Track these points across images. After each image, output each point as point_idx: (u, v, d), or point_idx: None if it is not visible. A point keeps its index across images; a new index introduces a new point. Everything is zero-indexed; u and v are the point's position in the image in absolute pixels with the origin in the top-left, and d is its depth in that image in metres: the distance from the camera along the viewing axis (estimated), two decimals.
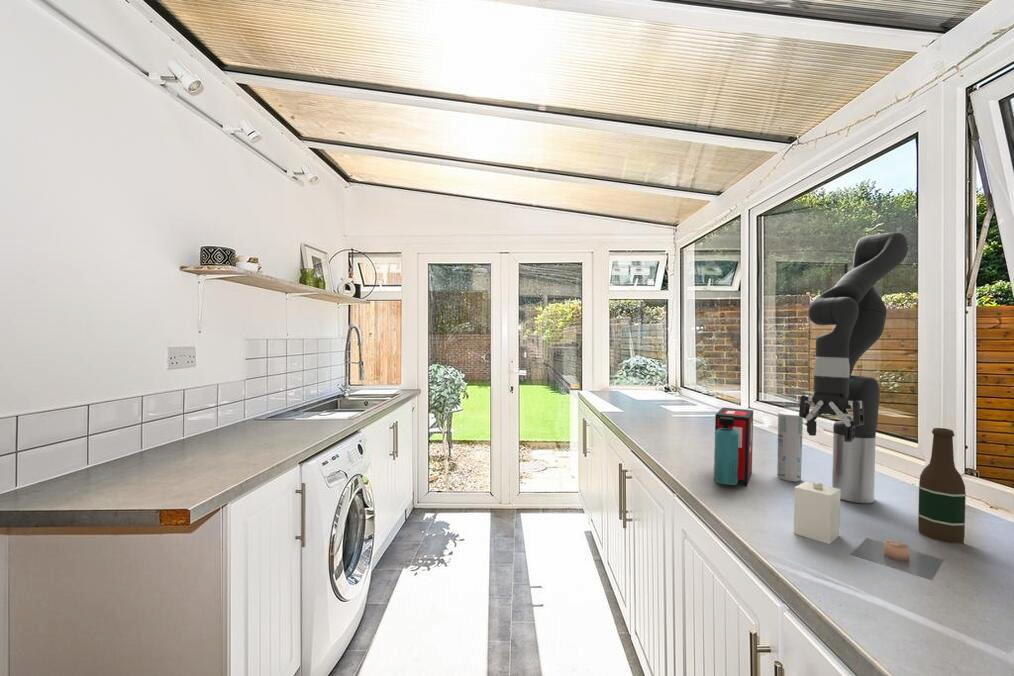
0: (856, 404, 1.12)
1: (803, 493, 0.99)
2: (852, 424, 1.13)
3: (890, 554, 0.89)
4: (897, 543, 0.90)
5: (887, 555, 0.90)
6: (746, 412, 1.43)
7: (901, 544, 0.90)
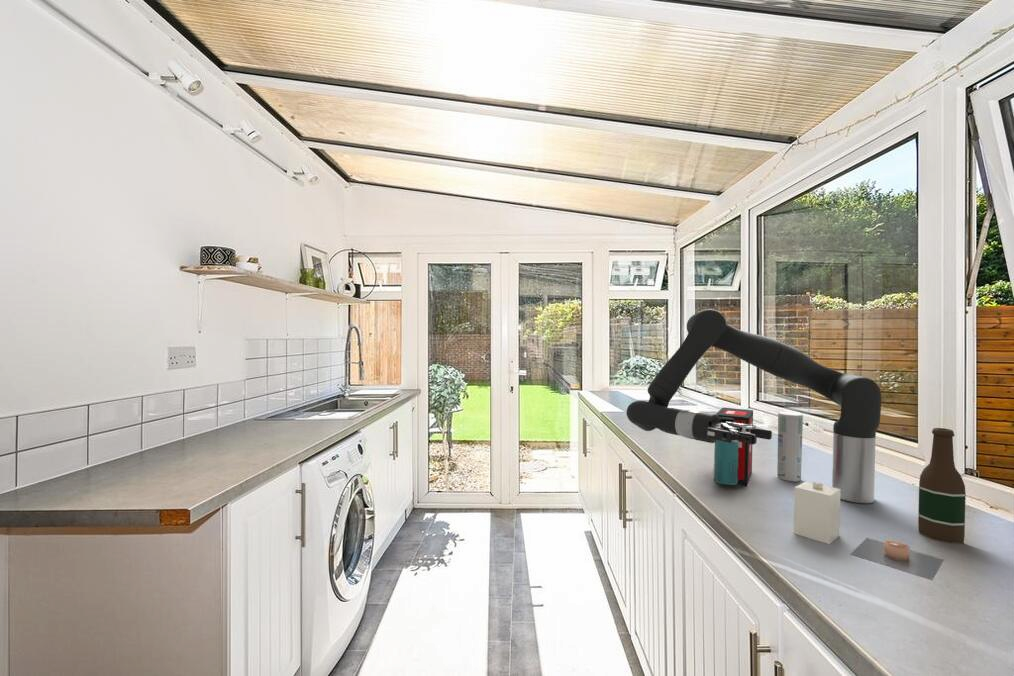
0: None
1: (803, 493, 0.99)
2: (733, 439, 1.08)
3: (890, 554, 0.89)
4: (897, 543, 0.90)
5: (887, 555, 0.90)
6: (746, 412, 1.43)
7: (901, 544, 0.90)
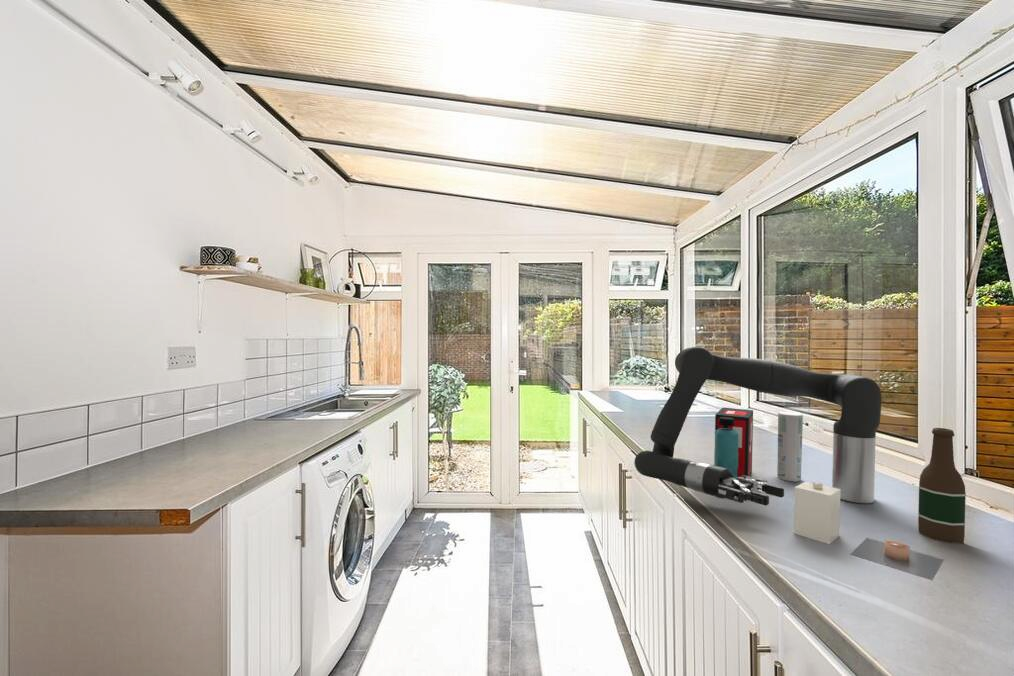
0: None
1: (803, 493, 0.99)
2: None
3: (890, 554, 0.89)
4: (898, 543, 0.90)
5: (887, 555, 0.90)
6: (746, 412, 1.43)
7: (901, 544, 0.90)
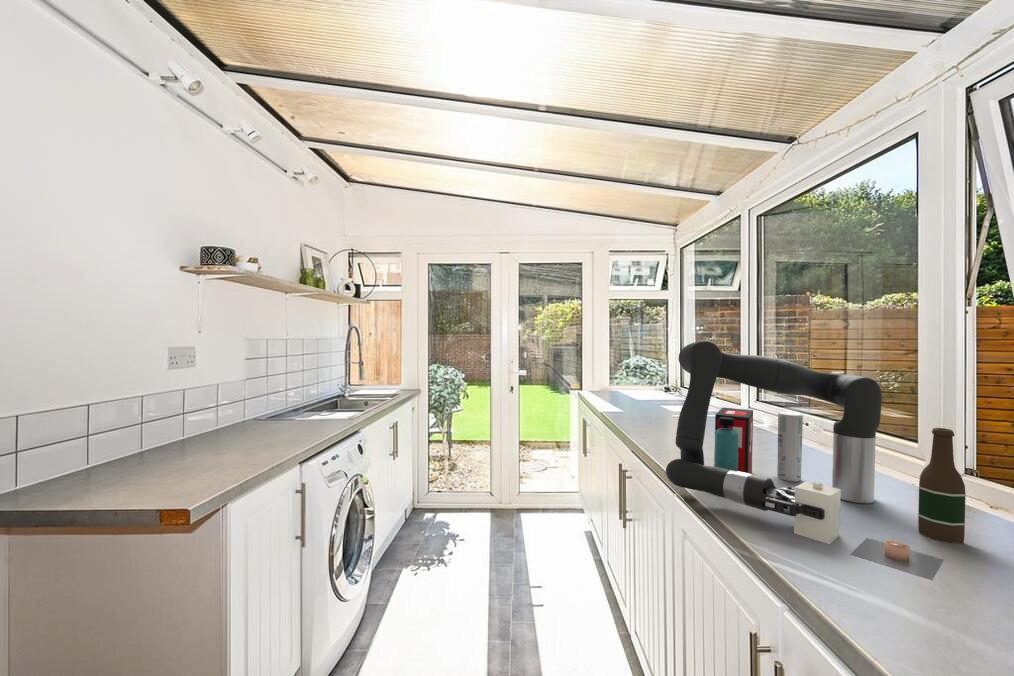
0: (769, 509, 1.01)
1: (803, 493, 0.99)
2: None
3: (890, 554, 0.89)
4: (898, 543, 0.90)
5: (887, 555, 0.90)
6: (746, 412, 1.43)
7: (901, 544, 0.90)
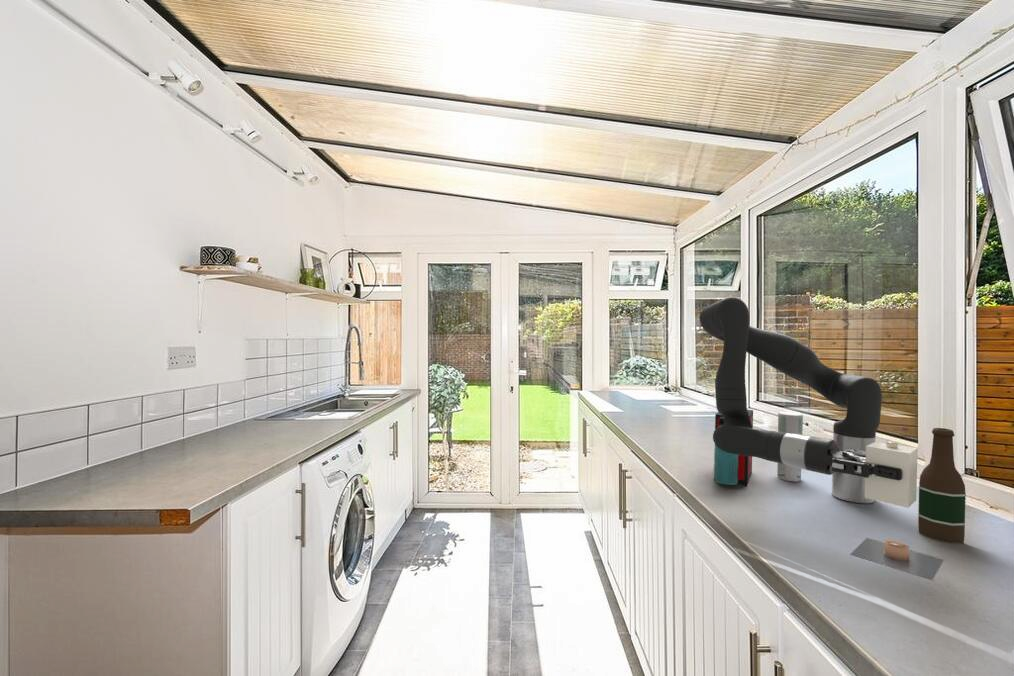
0: None
1: (876, 453, 0.90)
2: None
3: (890, 554, 0.89)
4: (898, 544, 0.90)
5: (886, 555, 0.90)
6: None
7: (901, 544, 0.90)
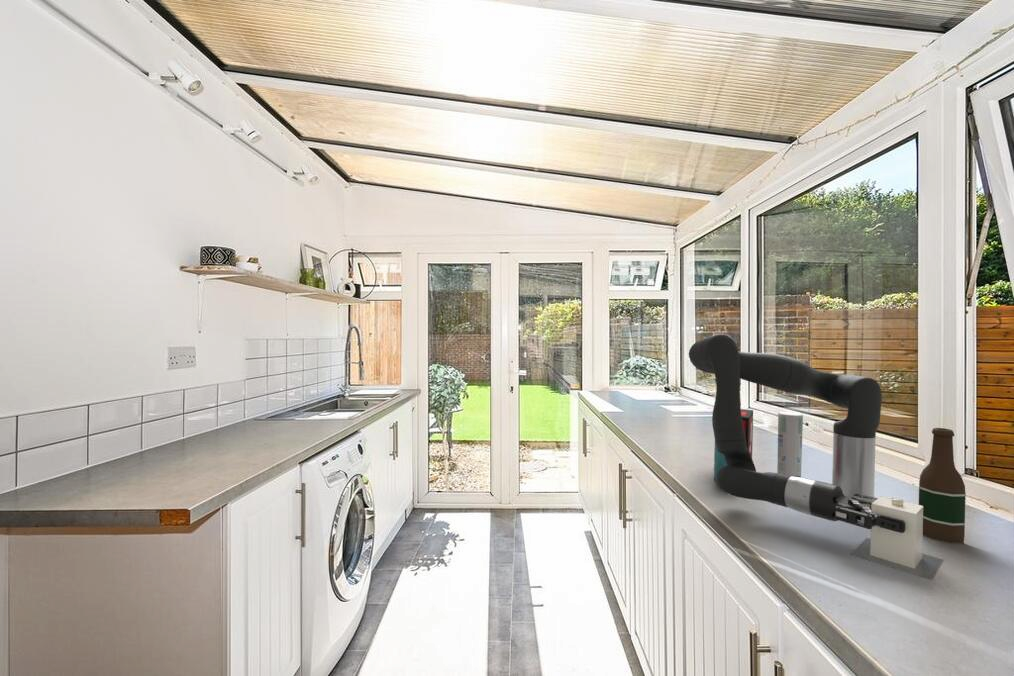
0: None
1: (882, 511, 0.89)
2: None
3: None
4: None
5: None
6: (746, 412, 1.43)
7: None
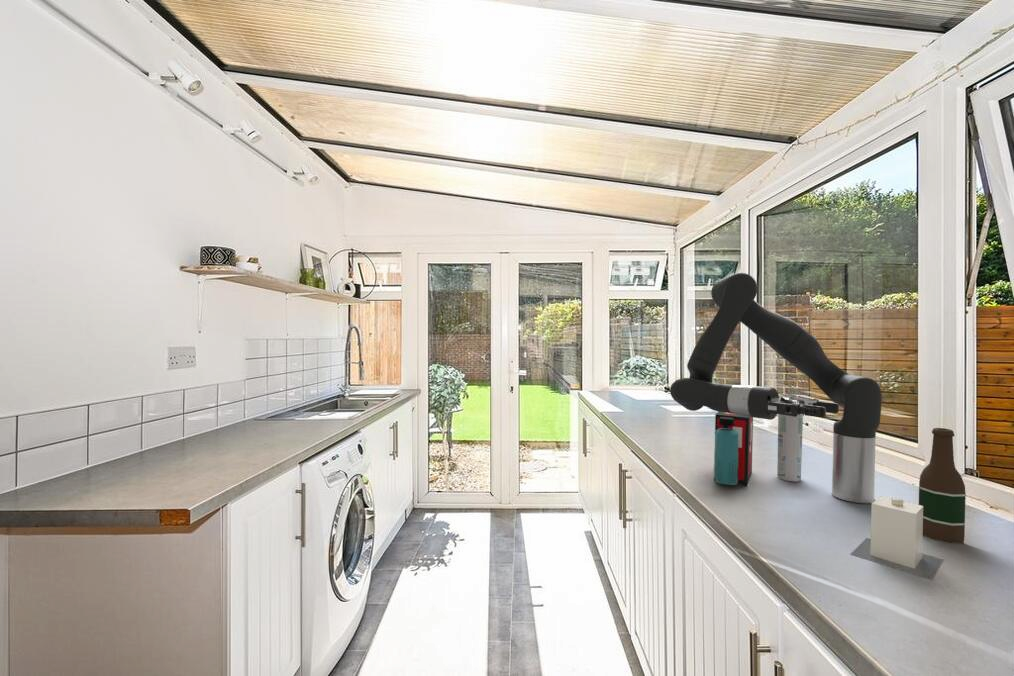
0: (771, 413, 1.02)
1: (882, 511, 0.89)
2: (799, 413, 0.99)
3: None
4: None
5: None
6: None
7: None
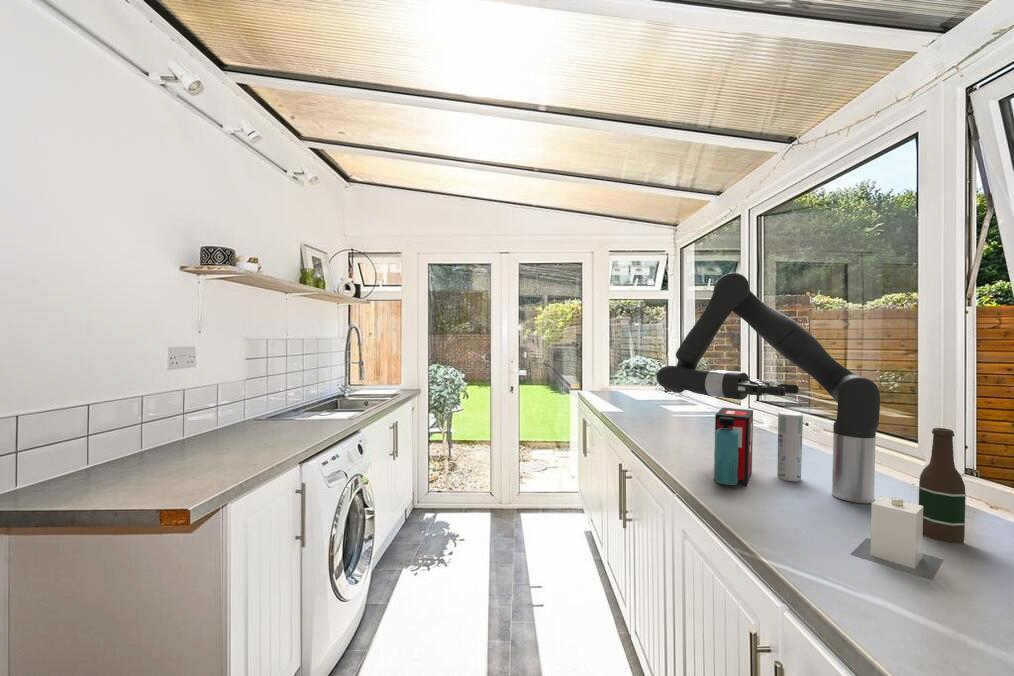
0: (741, 393, 1.19)
1: (882, 511, 0.89)
2: (763, 393, 1.16)
3: None
4: None
5: None
6: (746, 412, 1.43)
7: None
